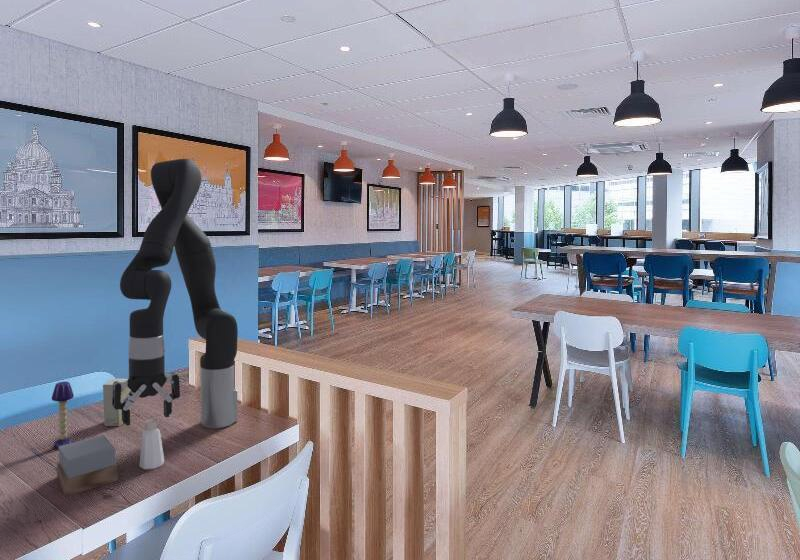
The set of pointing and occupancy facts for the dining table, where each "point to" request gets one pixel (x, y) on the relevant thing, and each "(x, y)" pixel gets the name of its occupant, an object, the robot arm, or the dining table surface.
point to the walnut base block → (86, 479)
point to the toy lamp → (62, 411)
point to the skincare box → (110, 413)
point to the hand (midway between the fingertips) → (147, 420)
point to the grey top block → (86, 456)
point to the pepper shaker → (151, 446)
